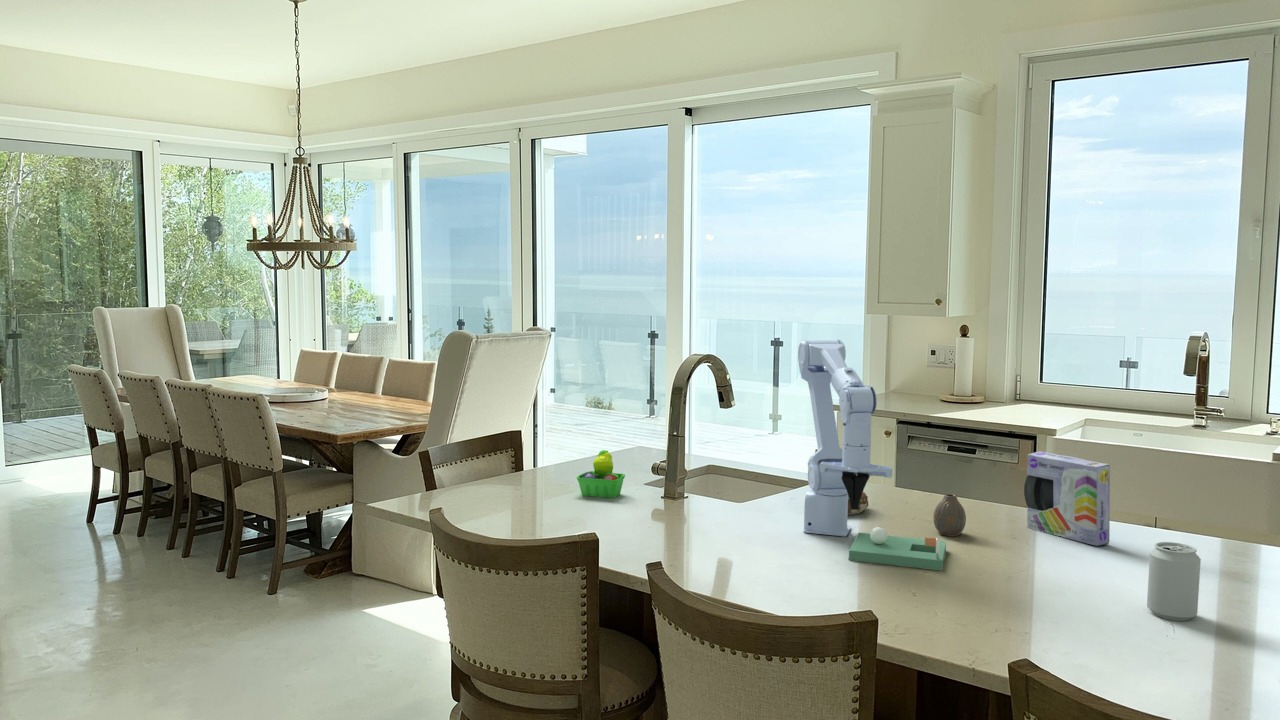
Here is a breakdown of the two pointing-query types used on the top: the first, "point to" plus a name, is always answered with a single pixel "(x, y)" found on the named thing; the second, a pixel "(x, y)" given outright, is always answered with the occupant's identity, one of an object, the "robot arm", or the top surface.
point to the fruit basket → (601, 478)
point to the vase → (949, 516)
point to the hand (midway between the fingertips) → (855, 508)
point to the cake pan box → (1068, 497)
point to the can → (1173, 581)
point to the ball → (878, 535)
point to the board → (897, 552)
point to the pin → (933, 544)
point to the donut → (862, 505)
